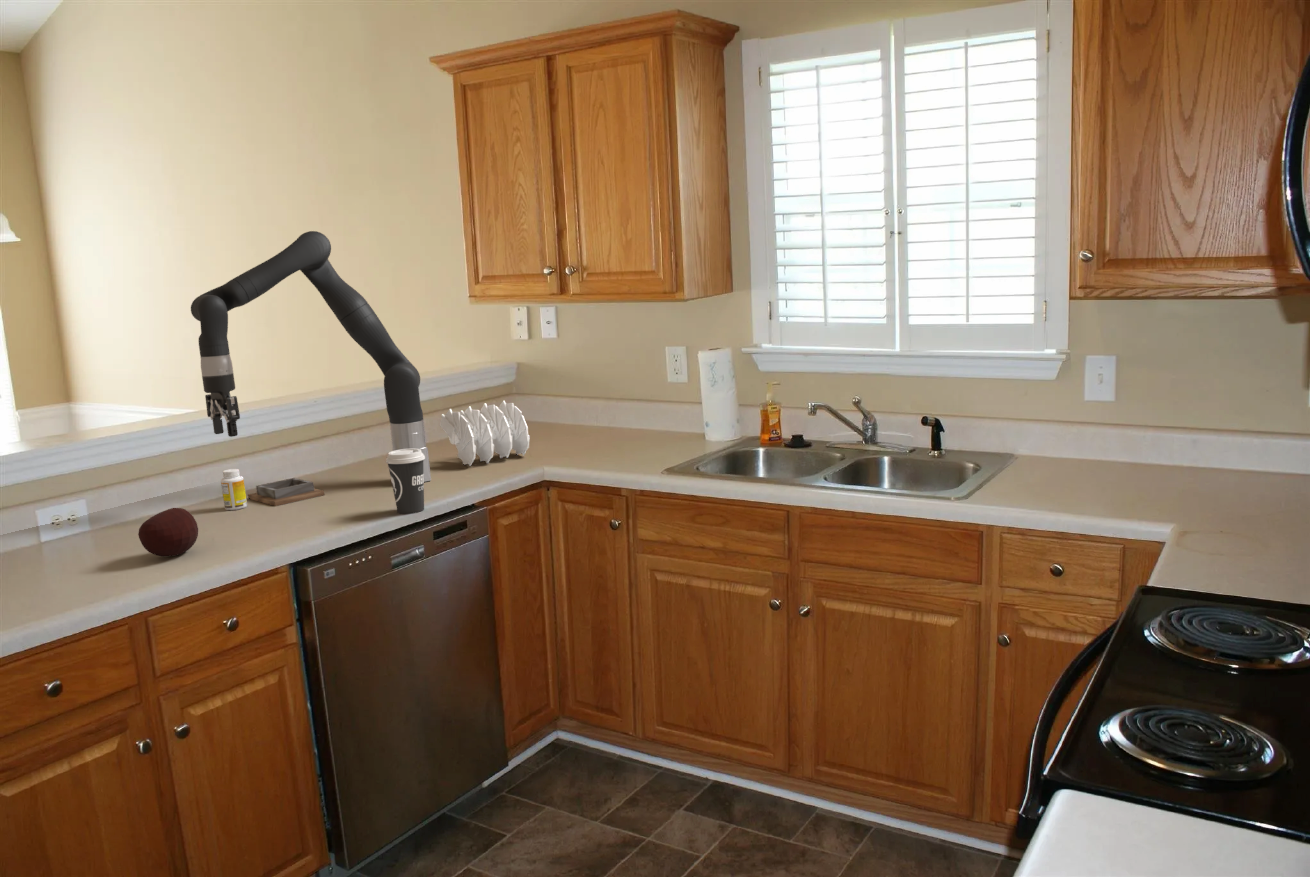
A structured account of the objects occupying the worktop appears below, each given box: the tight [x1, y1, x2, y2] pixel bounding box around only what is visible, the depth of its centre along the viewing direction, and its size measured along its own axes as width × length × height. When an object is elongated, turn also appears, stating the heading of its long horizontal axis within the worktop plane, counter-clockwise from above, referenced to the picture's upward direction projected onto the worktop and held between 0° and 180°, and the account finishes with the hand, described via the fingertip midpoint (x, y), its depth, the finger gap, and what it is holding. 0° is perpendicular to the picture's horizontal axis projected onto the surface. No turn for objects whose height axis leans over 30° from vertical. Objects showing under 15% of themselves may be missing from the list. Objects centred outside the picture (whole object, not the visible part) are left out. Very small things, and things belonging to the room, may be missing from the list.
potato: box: [137, 507, 199, 557], centre depth 229 cm, size 11×13×10 cm
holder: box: [247, 477, 325, 507], centre depth 283 cm, size 16×14×4 cm
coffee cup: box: [385, 449, 425, 515], centre depth 257 cm, size 10×10×15 cm
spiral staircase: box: [439, 400, 531, 467], centre depth 314 cm, size 18×18×25 cm
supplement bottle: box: [220, 468, 248, 511], centre depth 272 cm, size 6×6×10 cm
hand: (226, 434), depth 270 cm, fingers open, 8 cm apart
